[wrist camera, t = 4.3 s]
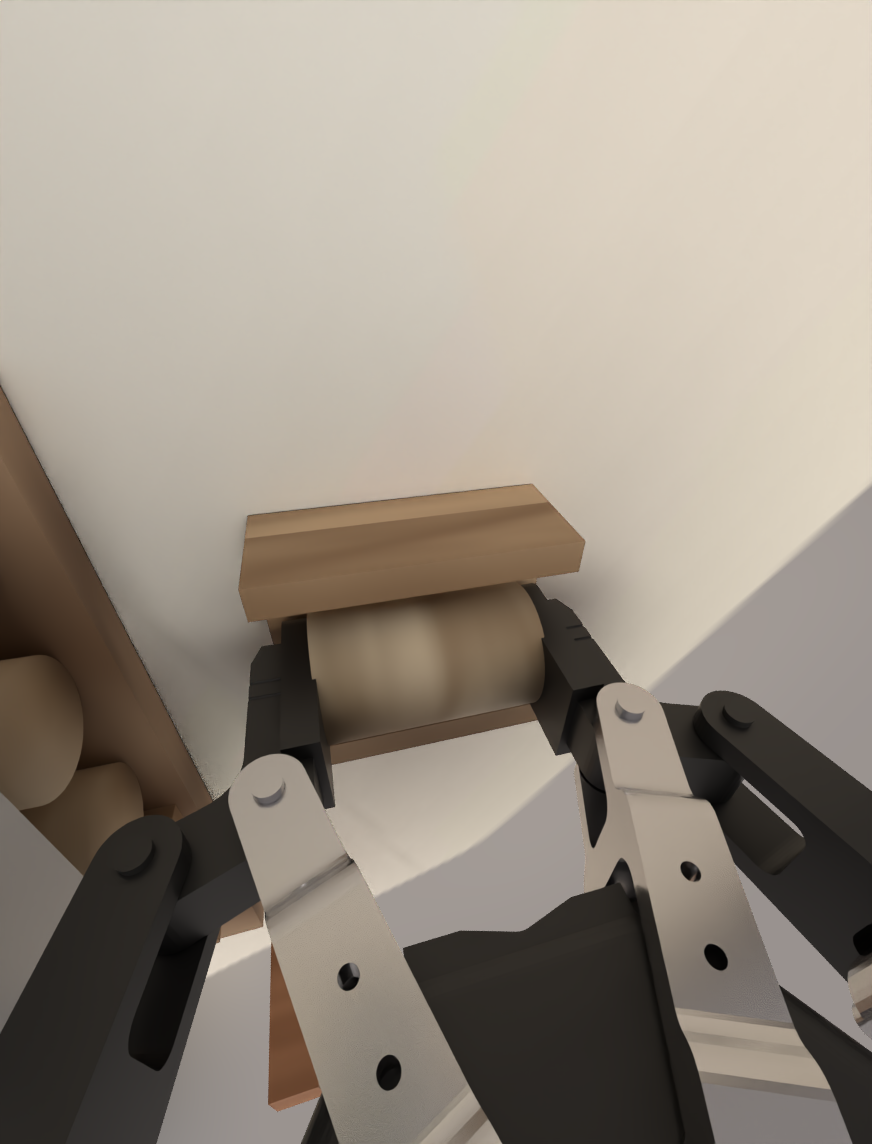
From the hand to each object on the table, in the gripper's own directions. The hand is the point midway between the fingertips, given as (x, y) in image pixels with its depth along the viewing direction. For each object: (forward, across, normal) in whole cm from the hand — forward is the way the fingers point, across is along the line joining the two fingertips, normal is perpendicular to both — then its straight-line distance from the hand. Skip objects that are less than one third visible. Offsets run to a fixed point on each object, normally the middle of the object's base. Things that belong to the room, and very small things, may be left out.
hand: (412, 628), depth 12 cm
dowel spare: (0, 0, 0) cm, 0 cm away
